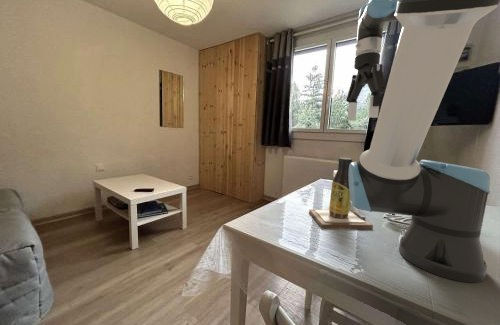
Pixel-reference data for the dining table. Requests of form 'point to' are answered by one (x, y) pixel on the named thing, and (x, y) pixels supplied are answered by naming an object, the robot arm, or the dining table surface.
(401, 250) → the robot arm
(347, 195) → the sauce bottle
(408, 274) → the dining table surface
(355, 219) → the wooden board
